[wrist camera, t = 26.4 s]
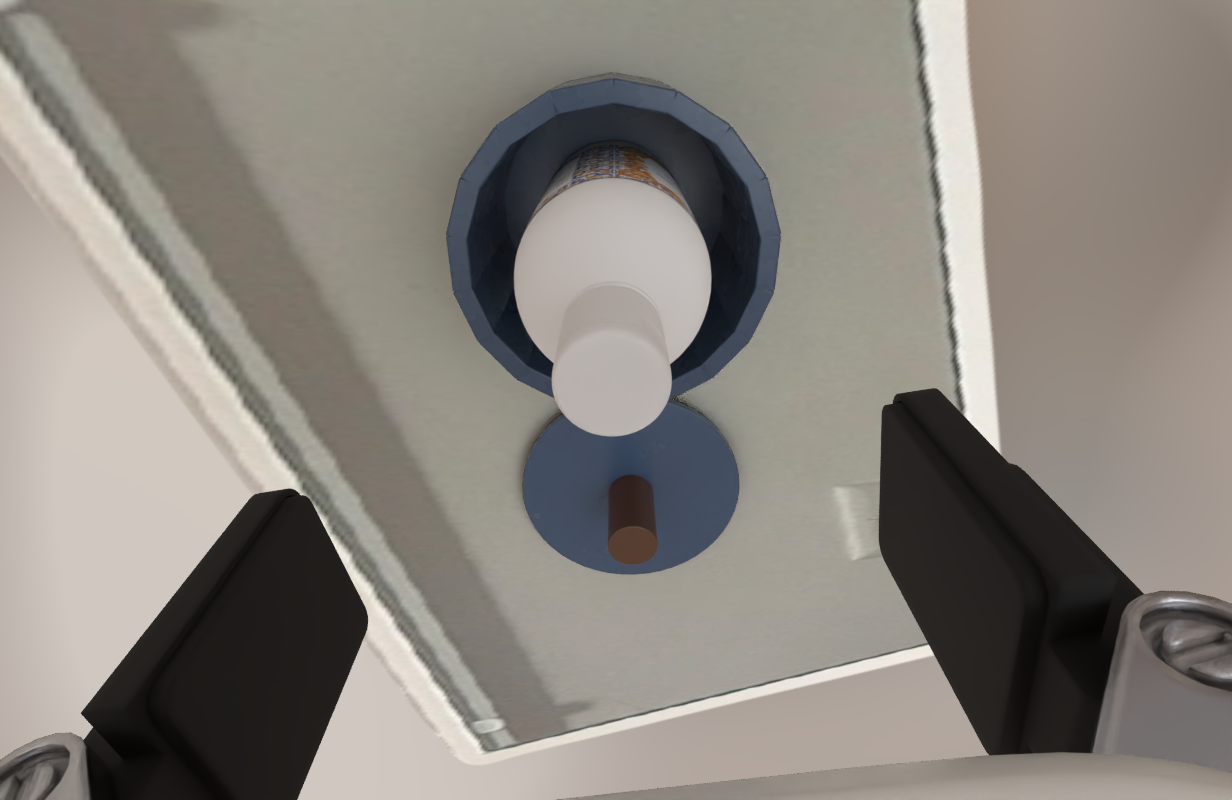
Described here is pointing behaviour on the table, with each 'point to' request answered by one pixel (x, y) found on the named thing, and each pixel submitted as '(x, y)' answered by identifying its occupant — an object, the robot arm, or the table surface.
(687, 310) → the bath foam
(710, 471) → the tin lid
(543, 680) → the table surface
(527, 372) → the tin
